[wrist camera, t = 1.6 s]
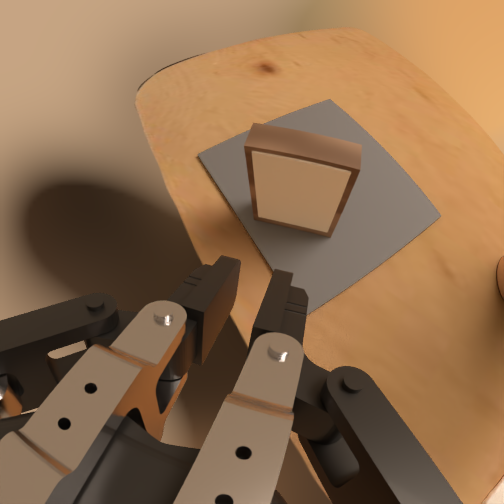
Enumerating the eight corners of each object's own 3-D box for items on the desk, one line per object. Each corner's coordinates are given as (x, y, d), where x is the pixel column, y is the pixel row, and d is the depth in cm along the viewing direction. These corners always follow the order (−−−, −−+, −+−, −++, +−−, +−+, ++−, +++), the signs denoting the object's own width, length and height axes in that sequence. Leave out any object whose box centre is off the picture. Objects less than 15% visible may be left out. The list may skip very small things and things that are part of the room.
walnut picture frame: (259, 200, 37) (253, 122, 24) (334, 217, 35) (361, 144, 22) (253, 221, 36) (243, 147, 23) (330, 239, 34) (360, 171, 21)
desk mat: (329, 101, 44) (329, 99, 44) (439, 217, 35) (441, 215, 34) (198, 156, 41) (197, 154, 40) (302, 317, 31) (303, 317, 31)
